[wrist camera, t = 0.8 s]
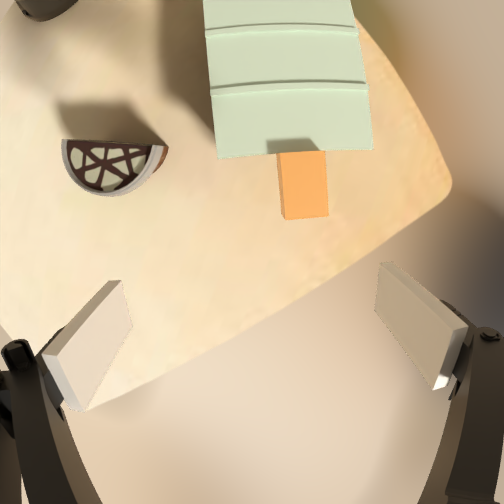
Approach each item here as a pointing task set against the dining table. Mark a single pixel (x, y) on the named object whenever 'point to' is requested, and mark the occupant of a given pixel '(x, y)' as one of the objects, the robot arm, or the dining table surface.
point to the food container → (110, 164)
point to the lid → (288, 89)
